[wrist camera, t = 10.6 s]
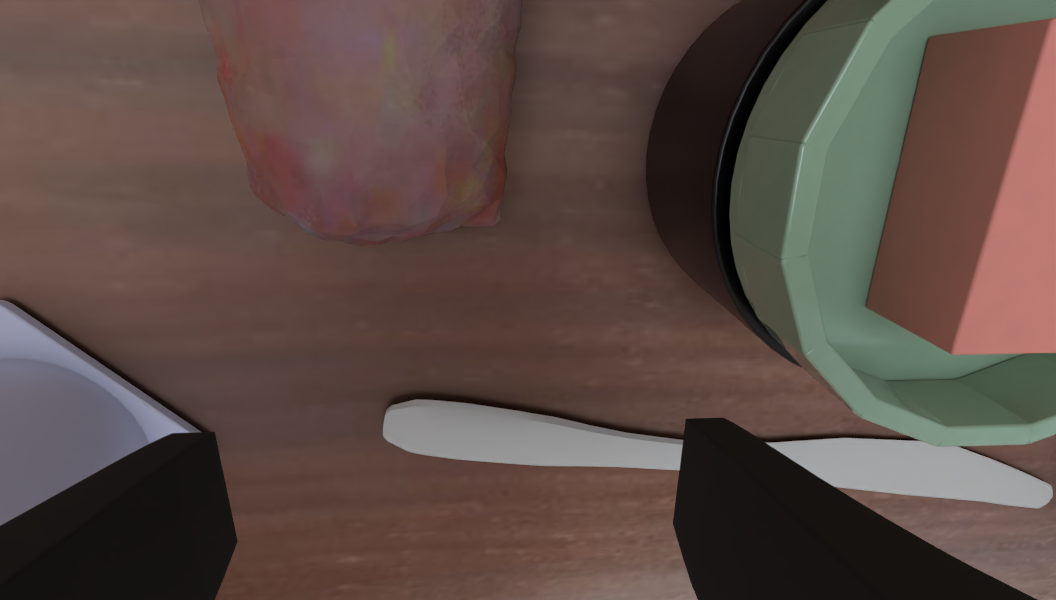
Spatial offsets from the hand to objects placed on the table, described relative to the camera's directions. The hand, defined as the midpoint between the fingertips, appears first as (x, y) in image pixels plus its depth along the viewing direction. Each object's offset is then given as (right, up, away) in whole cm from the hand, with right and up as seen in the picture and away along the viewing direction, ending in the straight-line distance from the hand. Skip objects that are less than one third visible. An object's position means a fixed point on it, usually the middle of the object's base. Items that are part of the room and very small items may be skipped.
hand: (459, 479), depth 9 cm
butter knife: (+9, -3, +13) cm, 16 cm away
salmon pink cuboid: (+10, +5, +3) cm, 12 cm away
